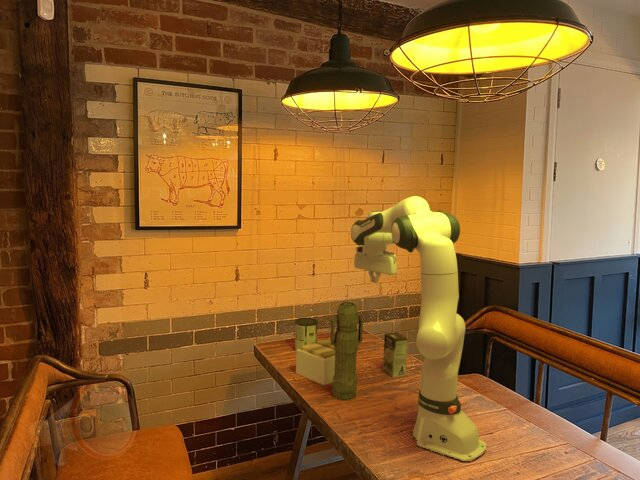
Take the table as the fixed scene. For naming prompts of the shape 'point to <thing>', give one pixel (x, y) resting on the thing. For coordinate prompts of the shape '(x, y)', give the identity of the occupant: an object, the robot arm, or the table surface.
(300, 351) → the display stand
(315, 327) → the coffee can
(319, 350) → the laid board
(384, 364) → the coffee box
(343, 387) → the thermos
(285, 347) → the table surface
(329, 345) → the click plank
